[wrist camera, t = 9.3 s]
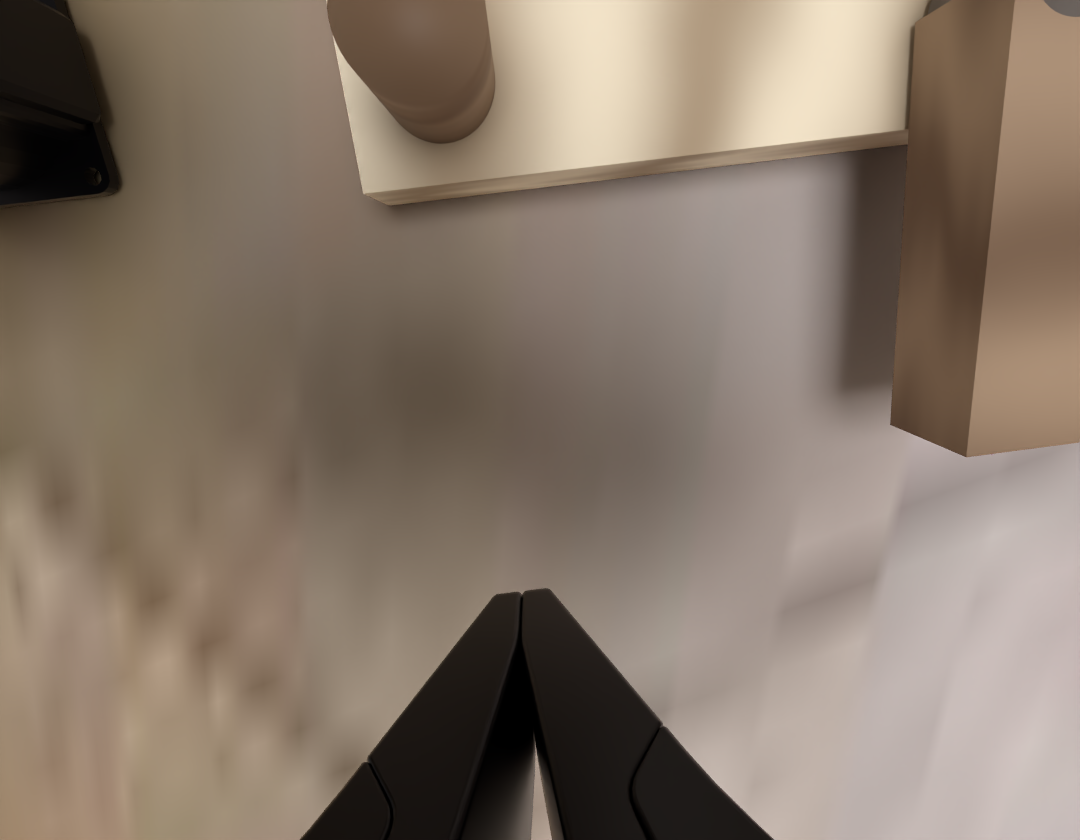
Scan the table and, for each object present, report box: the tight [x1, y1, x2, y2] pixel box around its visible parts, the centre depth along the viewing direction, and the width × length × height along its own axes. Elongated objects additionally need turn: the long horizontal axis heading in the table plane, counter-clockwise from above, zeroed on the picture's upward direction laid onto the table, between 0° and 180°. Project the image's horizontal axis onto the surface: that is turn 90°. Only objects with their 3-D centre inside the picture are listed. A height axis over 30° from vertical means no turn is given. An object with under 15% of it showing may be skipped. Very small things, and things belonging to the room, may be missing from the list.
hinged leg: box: [890, 0, 1080, 457], centre depth 14 cm, size 12×3×3 cm, turn 7°
